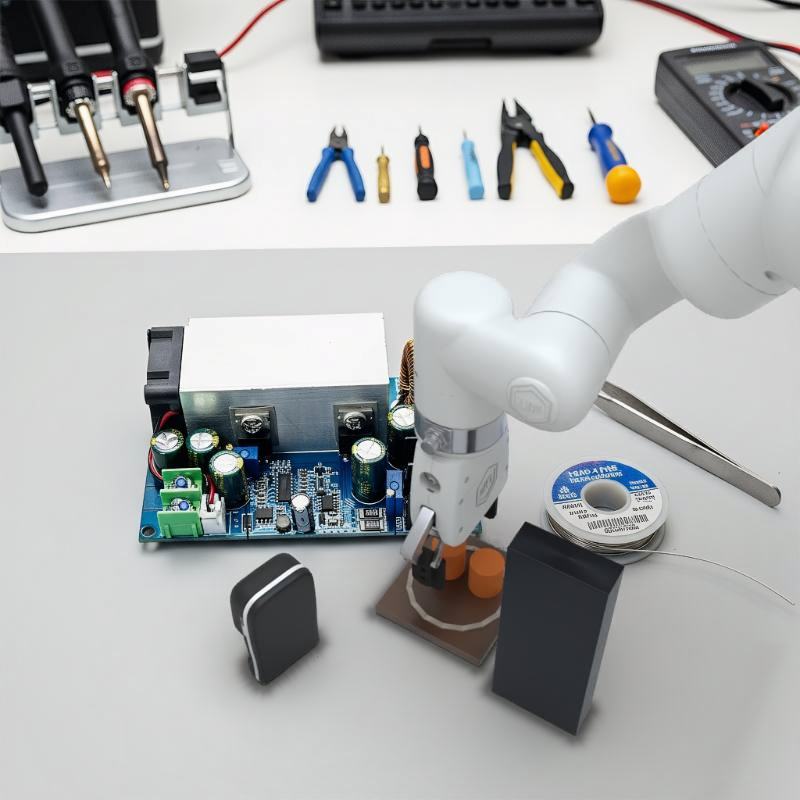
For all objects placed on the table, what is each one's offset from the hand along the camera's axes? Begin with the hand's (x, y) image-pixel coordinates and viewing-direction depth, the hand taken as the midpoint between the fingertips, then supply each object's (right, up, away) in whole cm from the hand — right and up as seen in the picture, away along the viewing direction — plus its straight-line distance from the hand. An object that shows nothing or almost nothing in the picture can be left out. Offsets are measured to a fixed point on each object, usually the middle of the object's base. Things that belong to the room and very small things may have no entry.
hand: (455, 546), depth 92 cm
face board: (0, -5, +1) cm, 5 cm away
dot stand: (+7, -12, -7) cm, 16 cm away
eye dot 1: (-1, -2, +2) cm, 3 cm away
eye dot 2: (+3, -4, +1) cm, 5 cm away
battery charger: (-16, -9, -3) cm, 19 cm away
